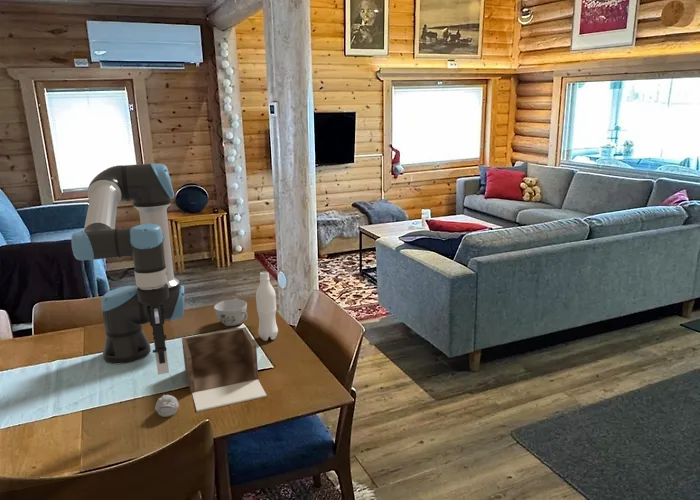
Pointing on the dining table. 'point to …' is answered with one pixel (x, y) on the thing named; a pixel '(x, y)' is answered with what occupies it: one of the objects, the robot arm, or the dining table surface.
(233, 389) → the panel
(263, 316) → the water bottle
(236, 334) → the crate
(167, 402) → the white sculpted head
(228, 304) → the teacup
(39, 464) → the dining table surface
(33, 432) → the dining table surface
